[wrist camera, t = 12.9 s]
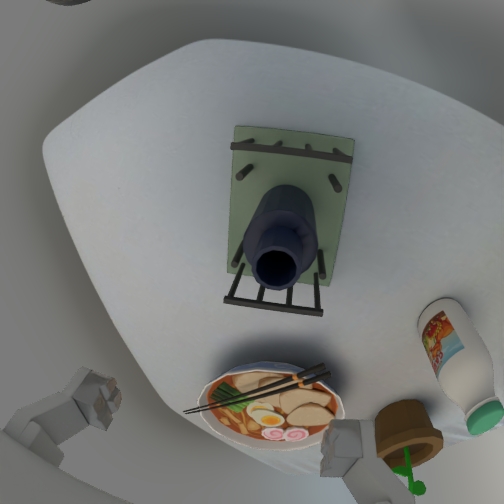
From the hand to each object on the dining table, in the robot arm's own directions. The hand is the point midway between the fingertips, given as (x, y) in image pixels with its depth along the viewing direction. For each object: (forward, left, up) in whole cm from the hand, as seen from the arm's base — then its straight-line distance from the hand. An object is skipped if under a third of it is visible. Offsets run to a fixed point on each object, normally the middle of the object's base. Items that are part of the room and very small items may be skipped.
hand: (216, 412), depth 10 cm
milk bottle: (+14, +26, -28) cm, 41 cm away
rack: (+1, +1, -28) cm, 28 cm away
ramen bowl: (+31, +3, -28) cm, 42 cm away
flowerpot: (+38, +29, -28) cm, 55 cm away
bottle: (+1, +1, -27) cm, 27 cm away
